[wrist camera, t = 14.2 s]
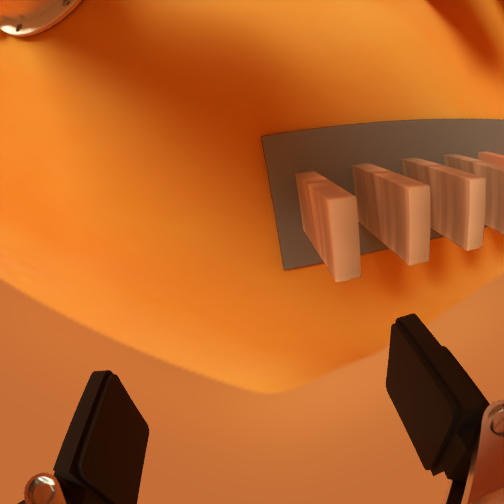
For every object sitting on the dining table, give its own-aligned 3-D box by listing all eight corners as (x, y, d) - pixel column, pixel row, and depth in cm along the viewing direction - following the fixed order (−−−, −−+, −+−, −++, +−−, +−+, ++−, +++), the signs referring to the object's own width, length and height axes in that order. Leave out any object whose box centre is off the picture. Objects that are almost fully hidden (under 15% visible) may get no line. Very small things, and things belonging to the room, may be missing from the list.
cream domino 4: (444, 204, 28) (510, 239, 19) (443, 154, 26) (514, 175, 17) (455, 202, 28) (522, 235, 19) (454, 153, 26) (526, 173, 17)
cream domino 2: (356, 219, 28) (409, 266, 19) (351, 165, 26) (408, 188, 17) (372, 217, 28) (429, 261, 19) (367, 163, 26) (430, 185, 17)
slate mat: (283, 268, 30) (284, 270, 30) (261, 136, 25) (261, 136, 25) (506, 220, 30) (508, 221, 29) (506, 119, 25) (508, 120, 25)
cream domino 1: (303, 229, 28) (336, 282, 19) (295, 173, 26) (328, 201, 17) (320, 226, 28) (361, 277, 19) (313, 170, 26) (356, 197, 17)
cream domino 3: (403, 211, 28) (466, 251, 19) (401, 159, 26) (469, 180, 17) (417, 208, 28) (482, 247, 19) (415, 157, 26) (485, 178, 17)
